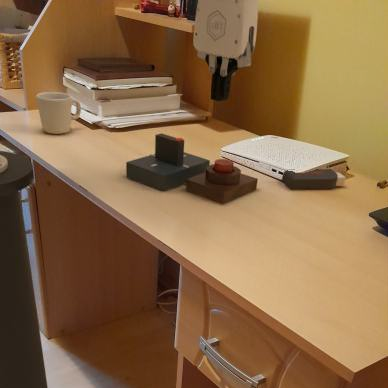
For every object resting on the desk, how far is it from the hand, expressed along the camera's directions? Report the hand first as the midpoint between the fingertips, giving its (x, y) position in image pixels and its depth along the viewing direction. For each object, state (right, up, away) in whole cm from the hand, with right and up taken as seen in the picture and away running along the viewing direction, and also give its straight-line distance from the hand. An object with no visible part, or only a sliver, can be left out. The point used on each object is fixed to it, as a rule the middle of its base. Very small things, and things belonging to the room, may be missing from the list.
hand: (219, 99), depth 92 cm
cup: (-37, +8, +34) cm, 50 cm away
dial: (-9, -7, +11) cm, 16 cm away
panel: (-10, -9, +13) cm, 19 cm away
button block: (+1, -14, +9) cm, 16 cm away
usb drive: (+20, -11, +14) cm, 27 cm away
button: (+1, -11, +6) cm, 12 cm away
